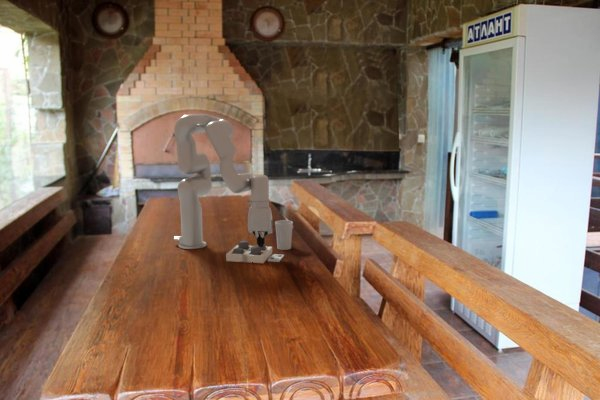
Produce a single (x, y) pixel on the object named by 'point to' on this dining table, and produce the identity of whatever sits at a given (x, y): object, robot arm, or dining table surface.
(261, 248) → the button
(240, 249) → the camera button
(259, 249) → the button camera
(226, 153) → the robot arm
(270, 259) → the card
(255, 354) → the dining table surface
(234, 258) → the board
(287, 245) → the cup
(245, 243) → the button
